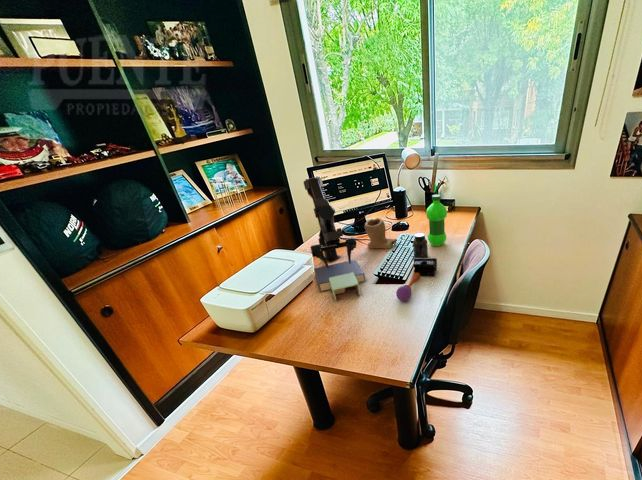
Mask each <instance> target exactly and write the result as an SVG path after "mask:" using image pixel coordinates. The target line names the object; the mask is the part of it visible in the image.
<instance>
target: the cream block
mask: <svg viewBox="0 0 642 480" xmlns="http://www.w3.org/2000/svg"><path fill="white" fill-rule="evenodd" d="M343 293H346V290H345V288H343V289H339V290H335V295H338V294H343Z"/></svg>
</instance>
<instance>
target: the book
mask: <svg viewBox="0 0 642 480" xmlns="http://www.w3.org/2000/svg"><path fill="white" fill-rule="evenodd" d="M328 267H329V268H327V267H326V265H324V266H319V267H314V268H313V270H314V273H315V277H316V278H315V279H316V281H317V285H318V288H319V291H320V292H321V293H323V292H327V291H329V290H332V289H331V285H330V281H329V278H330V277H335V276H339V275H343V274H348V273H352V272H353V273H354V275H355V277H356V279H357V281H358V284H360V283H363V282H366V278H365V272H364V271H363V269H362V267H361V266H360V264H359V263H358V260H357V259H351V263H349V260H346V261H342V262H338V263H333V264H328Z"/></svg>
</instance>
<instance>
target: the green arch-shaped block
mask: <svg viewBox="0 0 642 480" xmlns="http://www.w3.org/2000/svg"><path fill="white" fill-rule="evenodd" d="M329 281H330V285H331V289H330V290H331V292H332V295H333V298H334V301H336V302H337V301H338V300H337V296H336V295H337V294H335V290H339V289H343V288H347V287H351V286H355V290H356V291H357V293H358V295H359V296H361V289H360V283H358V281H357V279H356V277H355V275H354V273H353V272H352V273H348V274H343V275H339V276H335V277H330V278H329Z"/></svg>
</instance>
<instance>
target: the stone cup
mask: <svg viewBox="0 0 642 480" xmlns="http://www.w3.org/2000/svg"><path fill="white" fill-rule="evenodd" d="M364 229H365V233H366V234H367V236H368V238H369V242H368V243H367V248H371V249H390V248H393V247H394V246H393V244H394V243H395V242H396V241H397V242H398V239H397V238H387V237H386V223H385V221H384V220H383V219H381V218H379V217H377V218H371V219H369V220H368V221H366V222H365V223H364ZM397 242H396V243H397Z"/></svg>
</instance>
